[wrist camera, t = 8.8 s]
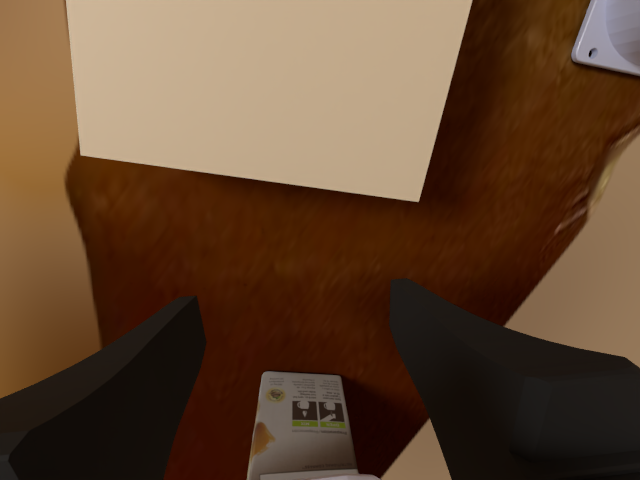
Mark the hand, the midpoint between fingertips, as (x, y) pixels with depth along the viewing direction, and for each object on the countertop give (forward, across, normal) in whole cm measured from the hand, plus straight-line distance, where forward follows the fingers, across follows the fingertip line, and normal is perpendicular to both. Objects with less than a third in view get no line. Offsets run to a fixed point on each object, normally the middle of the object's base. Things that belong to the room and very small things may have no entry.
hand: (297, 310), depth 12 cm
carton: (+9, 0, -10) cm, 14 cm away
